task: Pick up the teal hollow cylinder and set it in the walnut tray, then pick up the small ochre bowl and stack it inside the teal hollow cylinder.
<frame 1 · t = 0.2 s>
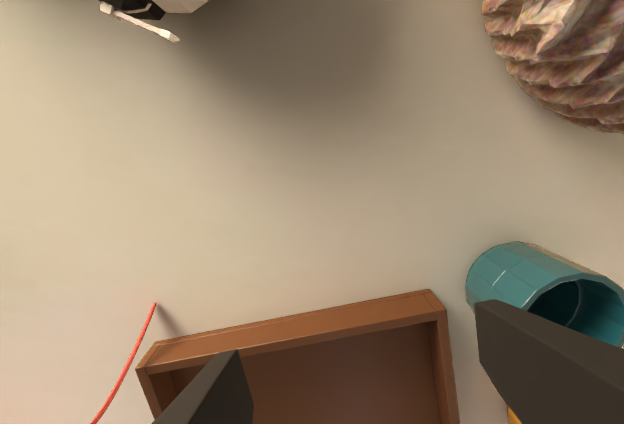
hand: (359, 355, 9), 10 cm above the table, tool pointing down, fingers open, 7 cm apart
teal hollow cylinder: (506, 282, 20), on the table
seashell: (561, 11, 16), on the table
tray: (310, 398, 21), on the table
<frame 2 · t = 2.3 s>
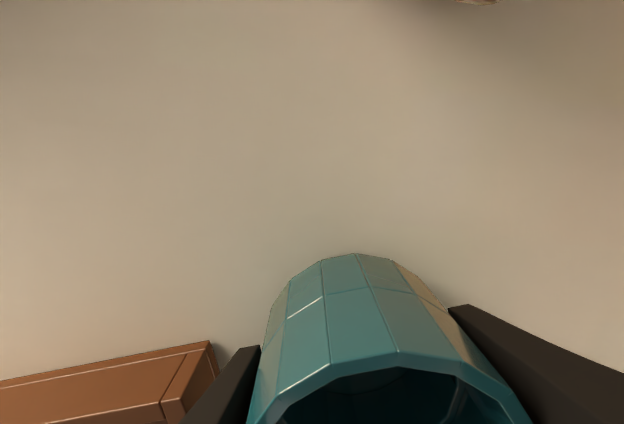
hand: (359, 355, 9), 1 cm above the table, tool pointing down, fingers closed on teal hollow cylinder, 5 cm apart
teal hollow cylinder: (351, 327, 11), on the table, touching gripper
when the fingers open (2 cm above the table, at t = 7.0 s): teal hollow cylinder stays where it is, resting on tray.
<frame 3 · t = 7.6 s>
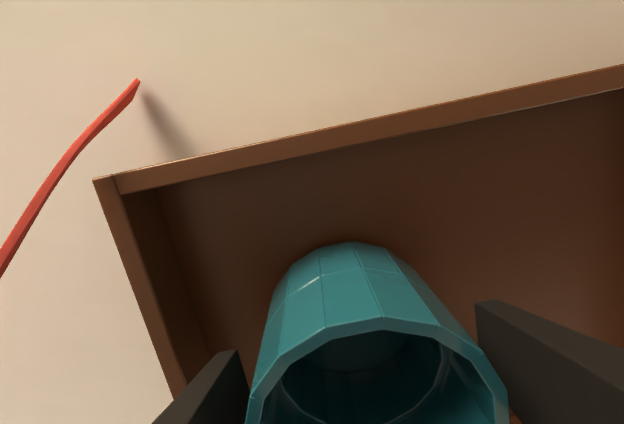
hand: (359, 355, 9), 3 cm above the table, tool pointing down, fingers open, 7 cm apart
teal hollow cylinder: (347, 310, 11), resting on tray
tray: (423, 290, 12), on the table
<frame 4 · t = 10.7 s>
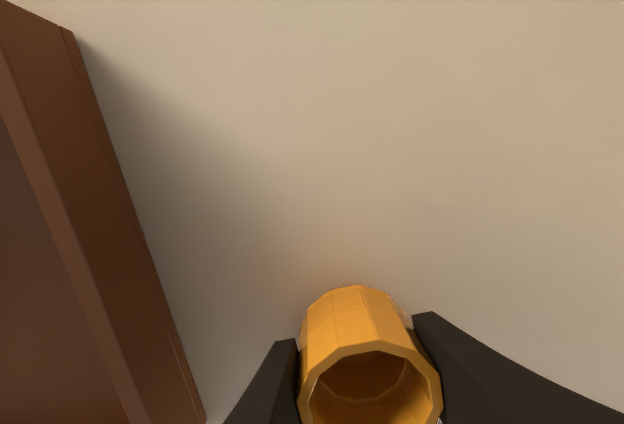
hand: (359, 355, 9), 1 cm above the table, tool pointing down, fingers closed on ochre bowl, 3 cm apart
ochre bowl: (352, 327, 11), on the table, touching gripper
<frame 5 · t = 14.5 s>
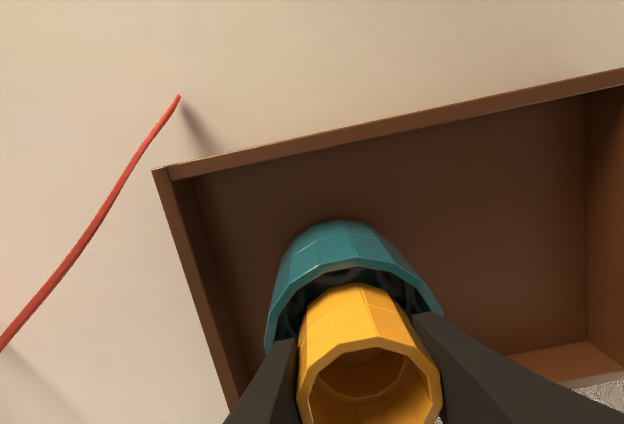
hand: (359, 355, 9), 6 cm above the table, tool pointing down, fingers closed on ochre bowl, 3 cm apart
teal hollow cylinder: (339, 275, 14), resting on tray
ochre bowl: (351, 325, 11), point 5 cm above the table, touching gripper
tray: (400, 259, 15), on the table
when the fingers open (6 cm above the table, at t = 16.4 s): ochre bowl drops 4 cm, resting on teal hollow cylinder.
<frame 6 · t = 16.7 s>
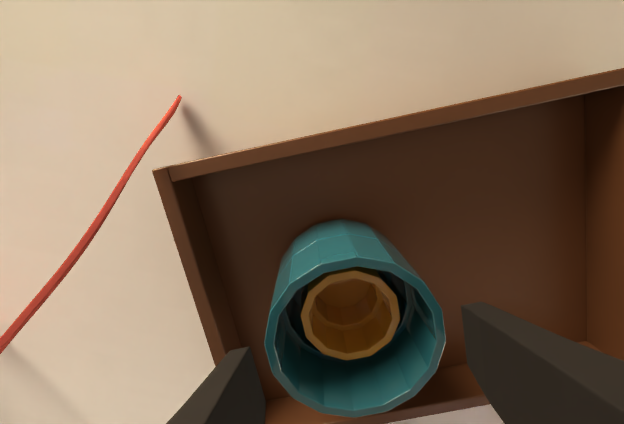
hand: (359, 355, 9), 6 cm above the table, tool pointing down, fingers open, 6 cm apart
teal hollow cylinder: (339, 275, 15), resting on tray, touching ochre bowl
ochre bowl: (341, 278, 14), point 1 cm above the table, touching teal hollow cylinder
tray: (400, 260, 15), on the table
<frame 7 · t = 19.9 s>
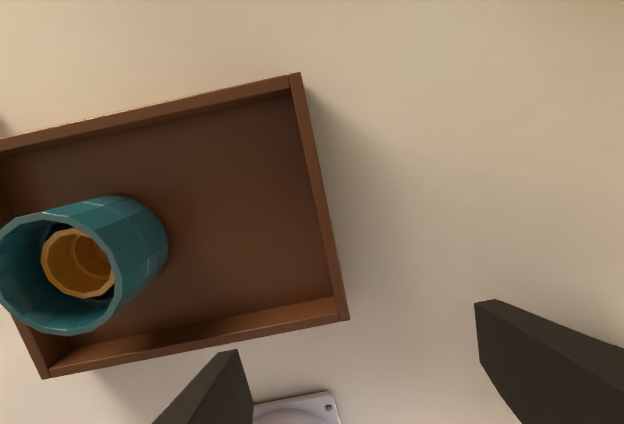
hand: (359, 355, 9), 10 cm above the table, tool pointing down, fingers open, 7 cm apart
teal hollow cylinder: (122, 241, 18), resting on tray, touching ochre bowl
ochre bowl: (119, 242, 18), point 1 cm above the table, touching teal hollow cylinder
tray: (176, 229, 18), on the table
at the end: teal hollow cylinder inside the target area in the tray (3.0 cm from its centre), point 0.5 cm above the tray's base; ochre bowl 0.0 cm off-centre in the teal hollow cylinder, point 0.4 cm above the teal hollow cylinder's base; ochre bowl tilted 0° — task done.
